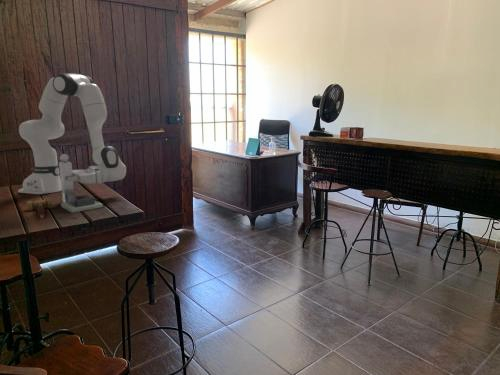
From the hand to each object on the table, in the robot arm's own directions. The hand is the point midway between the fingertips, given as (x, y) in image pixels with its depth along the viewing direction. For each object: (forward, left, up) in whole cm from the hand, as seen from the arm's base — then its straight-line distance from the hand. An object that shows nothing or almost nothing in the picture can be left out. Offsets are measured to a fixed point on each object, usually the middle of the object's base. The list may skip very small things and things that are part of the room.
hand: (64, 178), depth 184 cm
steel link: (+1, +1, -13) cm, 13 cm away
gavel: (-2, -17, -13) cm, 22 cm away
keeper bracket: (+11, -5, -13) cm, 17 cm away
